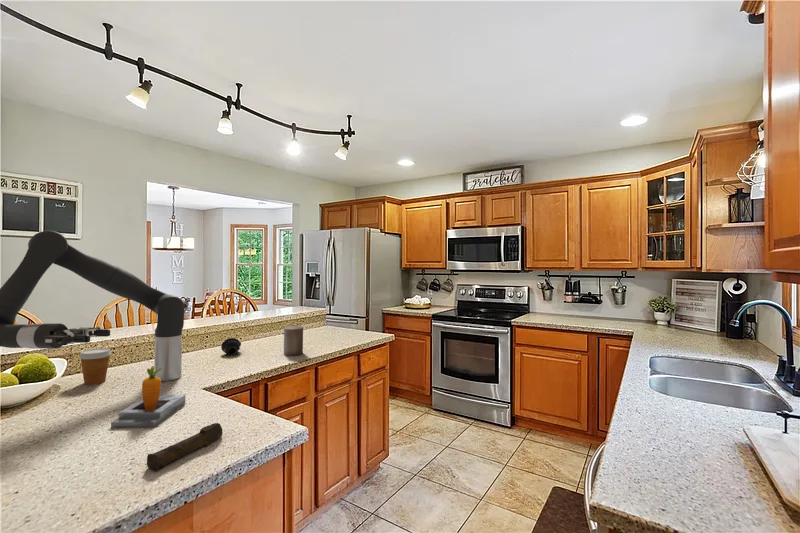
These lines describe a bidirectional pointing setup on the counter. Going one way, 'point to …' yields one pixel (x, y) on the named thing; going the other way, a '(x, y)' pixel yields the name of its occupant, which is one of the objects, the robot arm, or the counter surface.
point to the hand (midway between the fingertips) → (99, 335)
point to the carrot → (151, 389)
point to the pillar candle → (293, 340)
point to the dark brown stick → (184, 446)
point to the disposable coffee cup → (94, 365)
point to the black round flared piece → (231, 346)
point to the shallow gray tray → (149, 412)
